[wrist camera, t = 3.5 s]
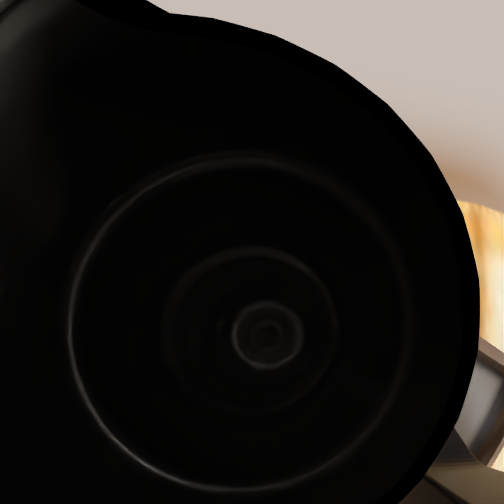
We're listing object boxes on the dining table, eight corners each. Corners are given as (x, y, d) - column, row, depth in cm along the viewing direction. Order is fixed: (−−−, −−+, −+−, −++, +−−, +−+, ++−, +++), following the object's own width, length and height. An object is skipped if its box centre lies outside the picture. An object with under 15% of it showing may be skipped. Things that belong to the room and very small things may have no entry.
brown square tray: (444, 502, 10) (456, 513, 8) (333, 471, 14) (339, 487, 11) (517, 375, 13) (534, 375, 11) (427, 317, 16) (444, 313, 14)
